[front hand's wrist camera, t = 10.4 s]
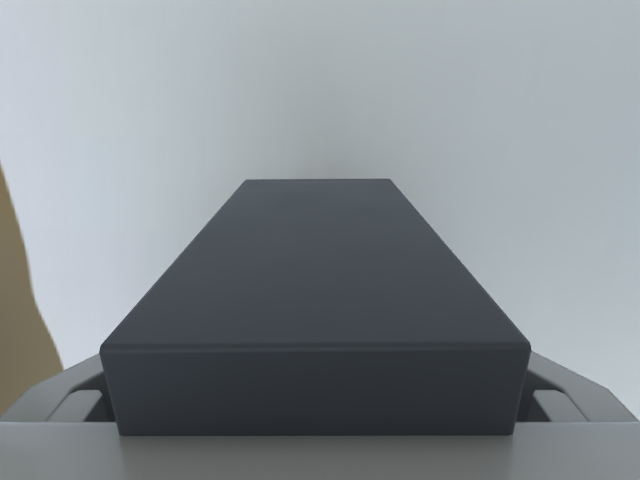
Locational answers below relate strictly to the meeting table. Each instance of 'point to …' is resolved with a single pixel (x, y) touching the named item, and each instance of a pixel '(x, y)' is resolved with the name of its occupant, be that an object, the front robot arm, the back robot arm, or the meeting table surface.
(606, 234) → the meeting table surface
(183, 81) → the meeting table surface
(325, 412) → the bar
